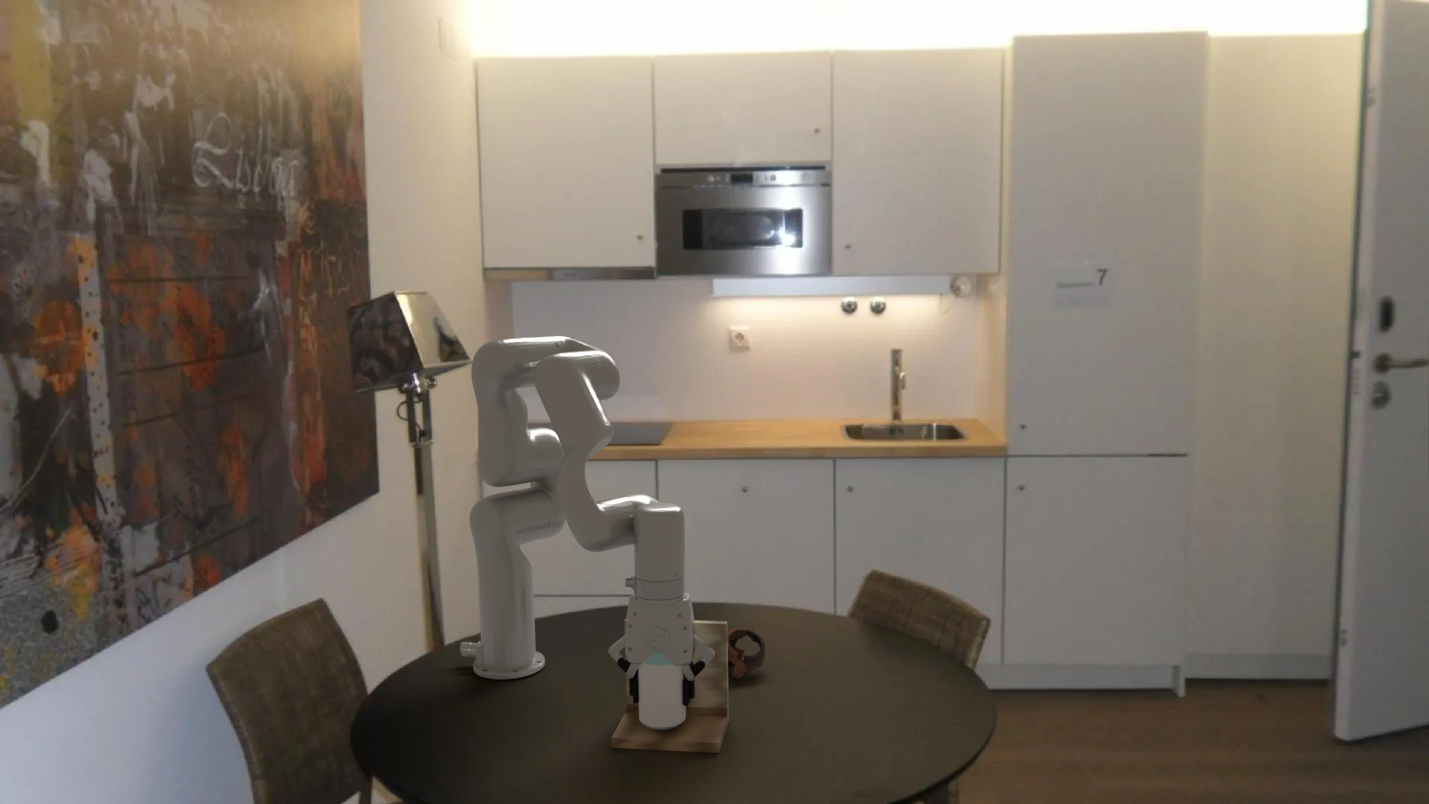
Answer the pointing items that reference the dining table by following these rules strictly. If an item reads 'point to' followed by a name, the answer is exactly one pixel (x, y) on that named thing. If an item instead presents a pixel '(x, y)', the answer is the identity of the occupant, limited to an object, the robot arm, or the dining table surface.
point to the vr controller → (737, 653)
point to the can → (660, 693)
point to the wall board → (702, 714)
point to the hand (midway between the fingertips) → (662, 700)
